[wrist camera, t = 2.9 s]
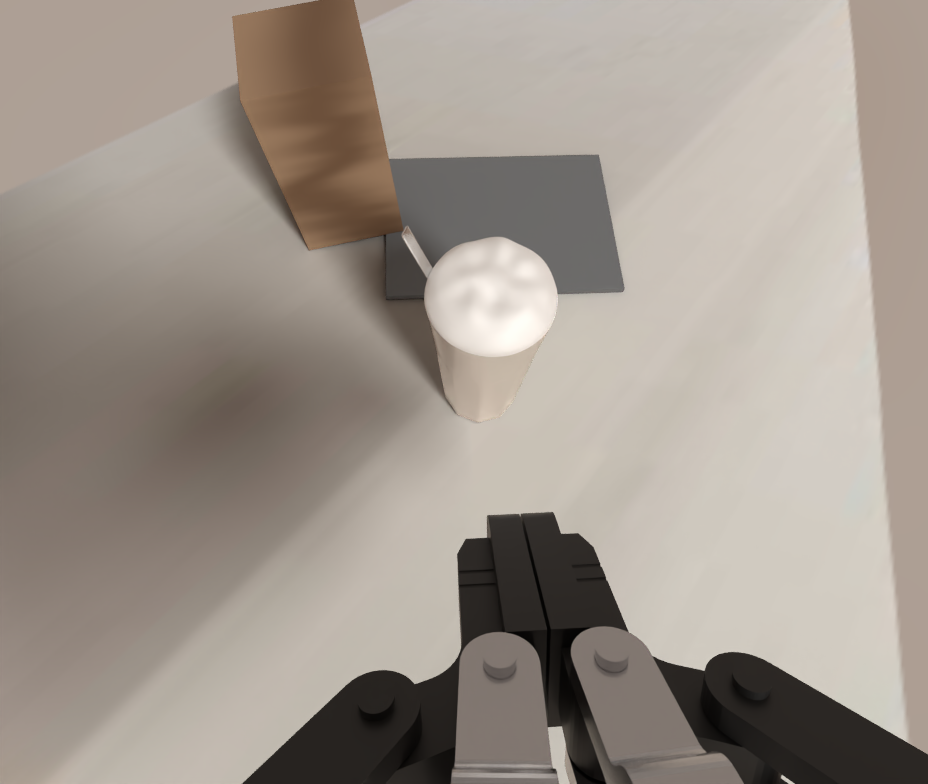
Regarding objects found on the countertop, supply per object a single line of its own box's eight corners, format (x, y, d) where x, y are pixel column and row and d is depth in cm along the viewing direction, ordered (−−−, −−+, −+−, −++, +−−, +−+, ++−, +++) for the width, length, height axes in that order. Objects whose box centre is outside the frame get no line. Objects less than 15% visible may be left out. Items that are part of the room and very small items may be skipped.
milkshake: (437, 329, 28) (431, 178, 19) (541, 366, 27) (586, 228, 18) (399, 409, 26) (373, 285, 17) (509, 450, 26) (541, 345, 17)
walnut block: (309, 250, 30) (240, 101, 22) (298, 178, 32) (232, 16, 24) (403, 230, 30) (371, 75, 22) (387, 160, 32) (352, -6, 24)
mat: (386, 299, 29) (385, 296, 28) (386, 163, 32) (386, 159, 32) (622, 292, 29) (624, 288, 29) (597, 158, 33) (598, 154, 33)
